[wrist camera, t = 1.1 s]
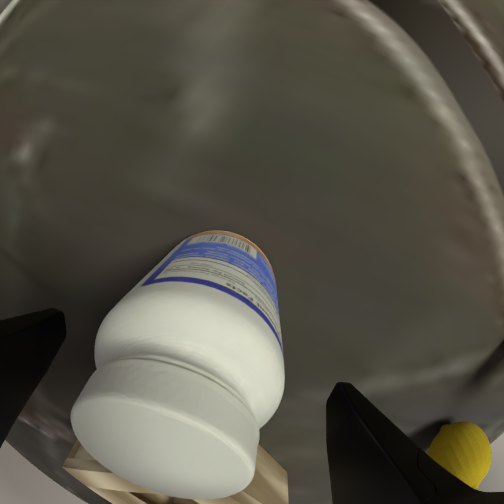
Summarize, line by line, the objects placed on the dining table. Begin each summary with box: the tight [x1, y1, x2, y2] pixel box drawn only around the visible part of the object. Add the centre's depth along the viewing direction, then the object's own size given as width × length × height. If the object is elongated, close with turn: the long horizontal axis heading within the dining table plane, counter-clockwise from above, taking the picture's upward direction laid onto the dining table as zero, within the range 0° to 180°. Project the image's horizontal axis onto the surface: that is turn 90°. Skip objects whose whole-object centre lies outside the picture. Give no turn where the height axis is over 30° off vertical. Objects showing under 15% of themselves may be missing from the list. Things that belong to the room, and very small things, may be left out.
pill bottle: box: [71, 230, 285, 500], centre depth 9 cm, size 5×5×10 cm
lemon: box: [428, 422, 492, 489], centre depth 13 cm, size 6×6×8 cm
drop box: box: [62, 439, 288, 504], centre depth 15 cm, size 12×12×6 cm
